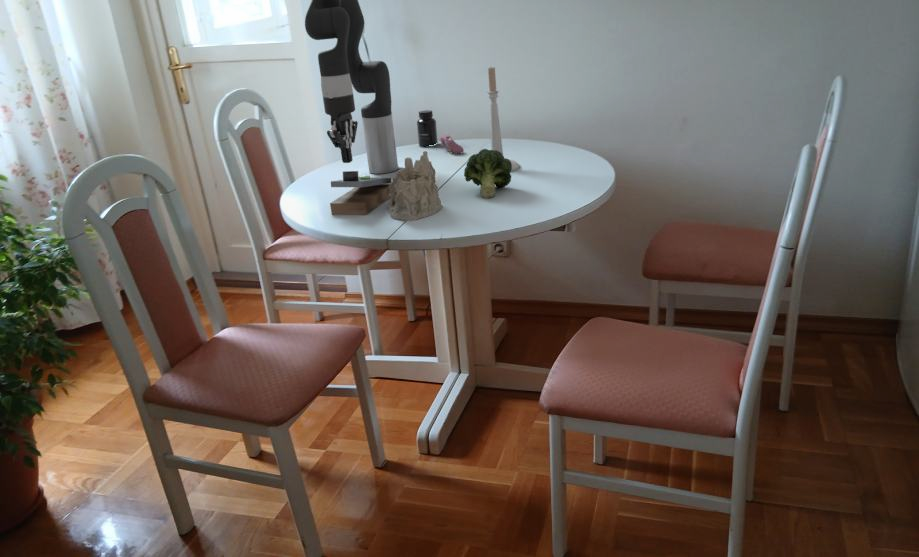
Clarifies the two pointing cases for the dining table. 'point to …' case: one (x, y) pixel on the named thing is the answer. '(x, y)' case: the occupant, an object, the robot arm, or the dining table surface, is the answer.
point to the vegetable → (488, 171)
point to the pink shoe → (450, 144)
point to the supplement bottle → (426, 129)
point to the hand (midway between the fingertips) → (347, 162)
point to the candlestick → (496, 117)
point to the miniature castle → (414, 191)
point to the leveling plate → (359, 180)
